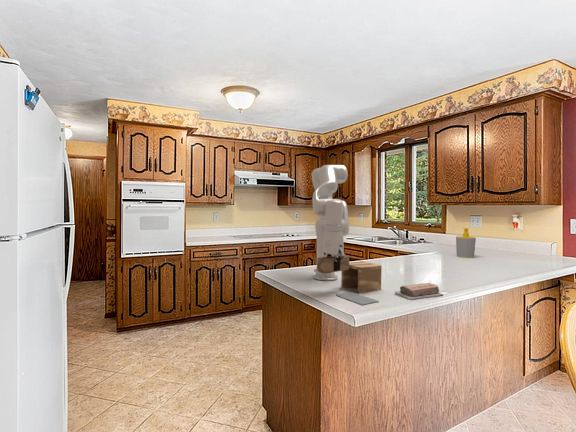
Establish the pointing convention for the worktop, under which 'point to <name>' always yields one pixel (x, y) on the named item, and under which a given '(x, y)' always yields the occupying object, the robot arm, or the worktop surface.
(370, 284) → the brown squarish box
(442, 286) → the worktop surface
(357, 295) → the grey mat
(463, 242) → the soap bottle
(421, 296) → the packaged product
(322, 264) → the walnut block
